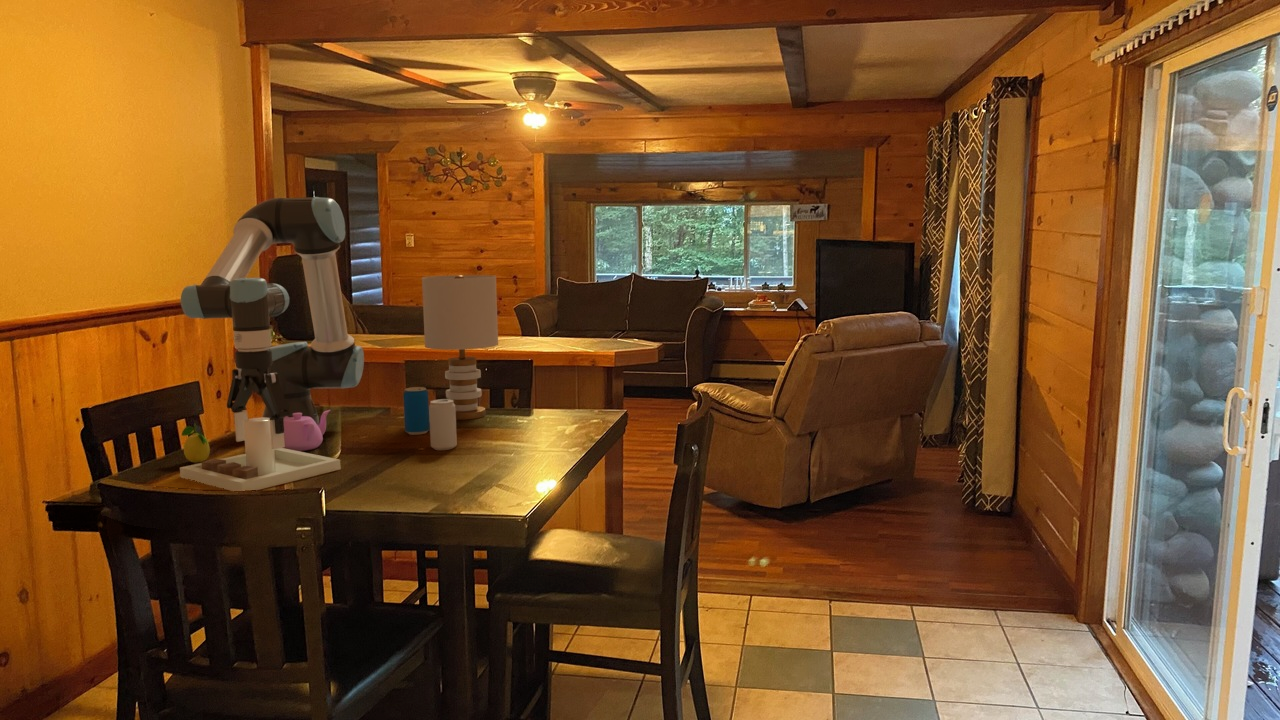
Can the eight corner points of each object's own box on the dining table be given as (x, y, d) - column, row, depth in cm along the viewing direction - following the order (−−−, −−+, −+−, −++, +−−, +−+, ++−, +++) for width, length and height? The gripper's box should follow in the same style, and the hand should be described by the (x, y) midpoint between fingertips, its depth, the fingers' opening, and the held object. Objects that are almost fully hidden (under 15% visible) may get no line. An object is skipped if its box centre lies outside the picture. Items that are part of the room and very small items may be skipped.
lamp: (431, 410, 292) (426, 274, 286) (501, 407, 294) (497, 273, 288) (424, 423, 271) (417, 277, 265) (499, 421, 273) (494, 276, 268)
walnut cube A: (202, 477, 211) (201, 462, 210) (215, 474, 214) (214, 458, 213) (213, 479, 209) (212, 463, 209) (227, 475, 212) (225, 460, 212)
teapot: (265, 453, 237) (262, 418, 236) (287, 441, 251) (285, 408, 250) (312, 453, 237) (310, 418, 235) (332, 441, 250) (330, 407, 249)
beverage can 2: (461, 446, 242) (459, 399, 240) (448, 451, 236) (446, 403, 234) (439, 444, 244) (437, 397, 243) (425, 450, 238) (423, 402, 237)
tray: (180, 480, 211) (179, 467, 211) (277, 459, 231) (277, 446, 230) (243, 497, 197) (242, 483, 197) (340, 472, 217) (340, 459, 216)
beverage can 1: (433, 430, 262) (431, 386, 260) (425, 435, 255) (423, 390, 254) (409, 430, 263) (407, 386, 261) (401, 435, 256) (399, 390, 255)
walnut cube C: (233, 486, 203) (232, 469, 203) (244, 481, 207) (243, 466, 206) (247, 487, 202) (246, 470, 202) (258, 482, 206) (257, 466, 205)
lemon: (183, 463, 228) (180, 421, 226) (210, 460, 230) (207, 419, 229) (182, 469, 222) (179, 427, 220) (210, 466, 224) (207, 424, 223)
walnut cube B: (218, 480, 208) (217, 465, 207) (234, 477, 210) (233, 462, 210) (226, 483, 205) (225, 467, 205) (242, 480, 208) (240, 464, 208)
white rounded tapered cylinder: (241, 474, 213) (237, 420, 212) (265, 468, 218) (262, 416, 216) (257, 477, 210) (253, 423, 208) (281, 472, 215) (278, 419, 213)
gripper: (205, 347, 214) (213, 440, 218) (271, 355, 200) (278, 454, 203) (236, 343, 221) (243, 434, 224) (302, 351, 206) (309, 447, 209)
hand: (260, 444), depth 213 cm, fingers open, 13 cm apart
